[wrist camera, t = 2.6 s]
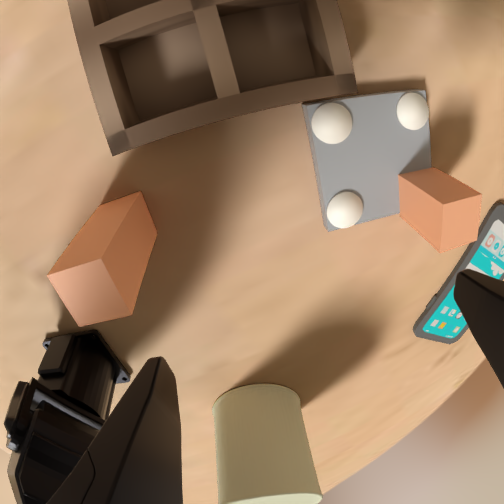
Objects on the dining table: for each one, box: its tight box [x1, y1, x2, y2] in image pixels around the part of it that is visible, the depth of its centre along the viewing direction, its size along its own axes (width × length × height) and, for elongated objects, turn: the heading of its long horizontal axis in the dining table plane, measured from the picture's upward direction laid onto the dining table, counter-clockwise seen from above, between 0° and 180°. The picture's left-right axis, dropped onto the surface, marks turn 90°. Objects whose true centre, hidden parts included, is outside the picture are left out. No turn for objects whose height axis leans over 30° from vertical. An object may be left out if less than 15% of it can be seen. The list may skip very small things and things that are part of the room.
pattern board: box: [302, 89, 482, 253], centre depth 16 cm, size 8×8×6 cm
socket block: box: [68, 0, 358, 156], centre depth 12 cm, size 12×12×4 cm
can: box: [212, 384, 323, 504], centre depth 26 cm, size 9×9×12 cm
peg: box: [47, 191, 158, 327], centre depth 16 cm, size 3×3×8 cm
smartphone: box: [413, 203, 504, 344], centre depth 25 cm, size 9×1×15 cm
